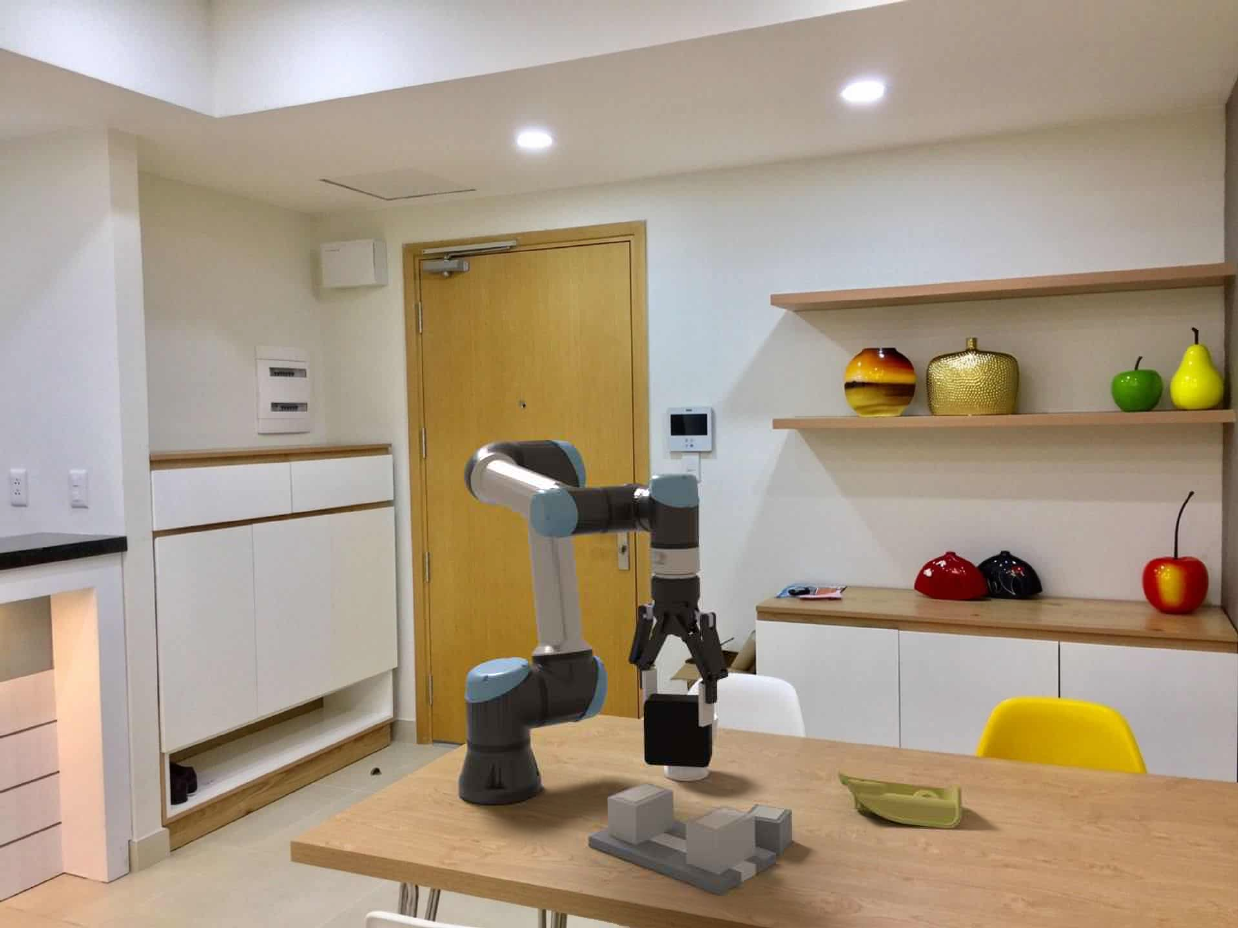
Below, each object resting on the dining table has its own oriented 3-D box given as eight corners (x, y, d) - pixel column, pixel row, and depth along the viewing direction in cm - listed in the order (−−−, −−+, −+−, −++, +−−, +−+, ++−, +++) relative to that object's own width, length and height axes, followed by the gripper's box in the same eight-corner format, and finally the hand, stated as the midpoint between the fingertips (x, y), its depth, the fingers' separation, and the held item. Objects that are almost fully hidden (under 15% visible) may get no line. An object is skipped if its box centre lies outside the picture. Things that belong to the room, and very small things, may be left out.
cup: (730, 769, 194) (729, 712, 194) (699, 789, 184) (698, 729, 183) (673, 759, 201) (672, 704, 200) (641, 777, 190) (640, 719, 190)
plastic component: (953, 789, 175) (962, 783, 166) (952, 834, 172) (962, 830, 163) (836, 776, 179) (839, 768, 170) (834, 819, 176) (837, 814, 167)
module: (743, 848, 158) (742, 815, 158) (756, 834, 163) (755, 802, 163) (780, 855, 155) (779, 821, 155) (792, 840, 160) (791, 808, 160)
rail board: (588, 845, 160) (587, 797, 159) (647, 819, 170) (646, 774, 170) (719, 894, 142) (718, 840, 142) (776, 862, 152) (775, 812, 152)
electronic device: (709, 767, 152) (708, 702, 152) (644, 764, 154) (643, 700, 154) (712, 759, 156) (711, 695, 156) (649, 756, 158) (647, 692, 158)
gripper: (604, 571, 160) (606, 709, 160) (720, 584, 144) (722, 737, 144) (635, 566, 165) (638, 699, 166) (751, 578, 149) (753, 725, 150)
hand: (677, 717), depth 155 cm, fingers closed on electronic device, 11 cm apart
